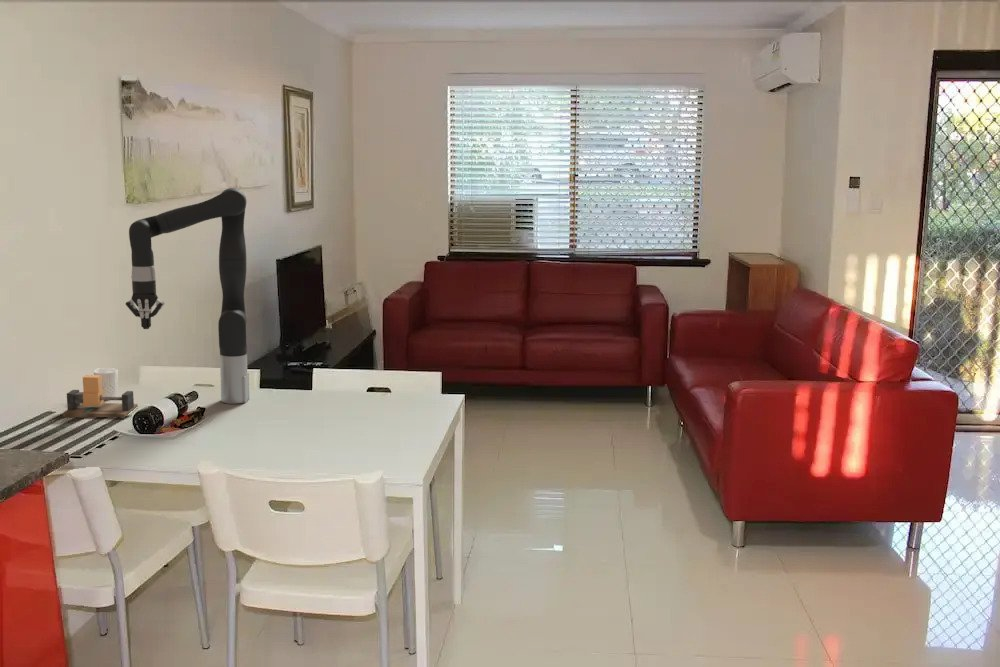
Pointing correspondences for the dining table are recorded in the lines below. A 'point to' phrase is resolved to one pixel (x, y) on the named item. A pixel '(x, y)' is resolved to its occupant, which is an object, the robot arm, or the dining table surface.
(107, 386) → the white cup
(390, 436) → the dining table surface
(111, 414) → the wooden board with posts
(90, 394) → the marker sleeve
